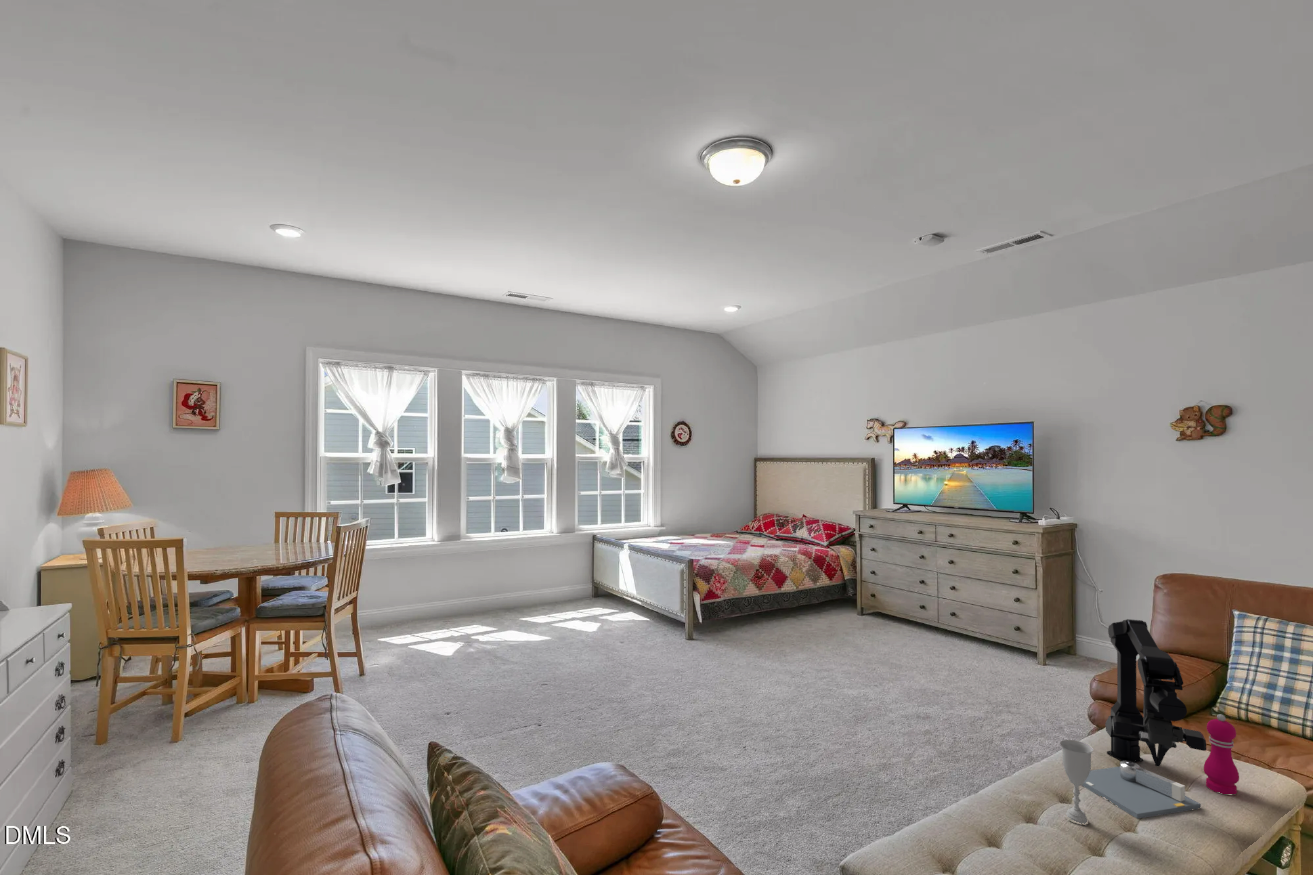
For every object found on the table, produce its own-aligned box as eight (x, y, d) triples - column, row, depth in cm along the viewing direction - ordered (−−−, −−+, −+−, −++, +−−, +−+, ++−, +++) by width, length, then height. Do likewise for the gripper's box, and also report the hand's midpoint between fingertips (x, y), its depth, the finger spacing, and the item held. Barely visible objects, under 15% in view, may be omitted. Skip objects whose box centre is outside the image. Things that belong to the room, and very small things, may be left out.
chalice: (1082, 830, 155) (1082, 755, 155) (1053, 816, 161) (1053, 743, 161) (1099, 822, 159) (1099, 748, 159) (1071, 808, 165) (1071, 737, 165)
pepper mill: (1246, 797, 170) (1246, 721, 170) (1214, 794, 172) (1214, 718, 172) (1227, 783, 177) (1227, 710, 177) (1197, 780, 179) (1197, 707, 179)
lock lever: (1116, 775, 178) (1116, 760, 178) (1126, 772, 180) (1126, 757, 180) (1177, 802, 165) (1177, 786, 165) (1187, 798, 167) (1187, 782, 167)
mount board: (1068, 777, 180) (1068, 772, 180) (1127, 769, 185) (1127, 764, 185) (1137, 818, 161) (1137, 813, 161) (1200, 808, 165) (1200, 803, 165)
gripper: (1115, 707, 165) (1114, 769, 165) (1210, 725, 155) (1210, 790, 155) (1112, 693, 174) (1112, 751, 174) (1202, 708, 165) (1201, 770, 165)
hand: (1157, 765), depth 167 cm, fingers closed
